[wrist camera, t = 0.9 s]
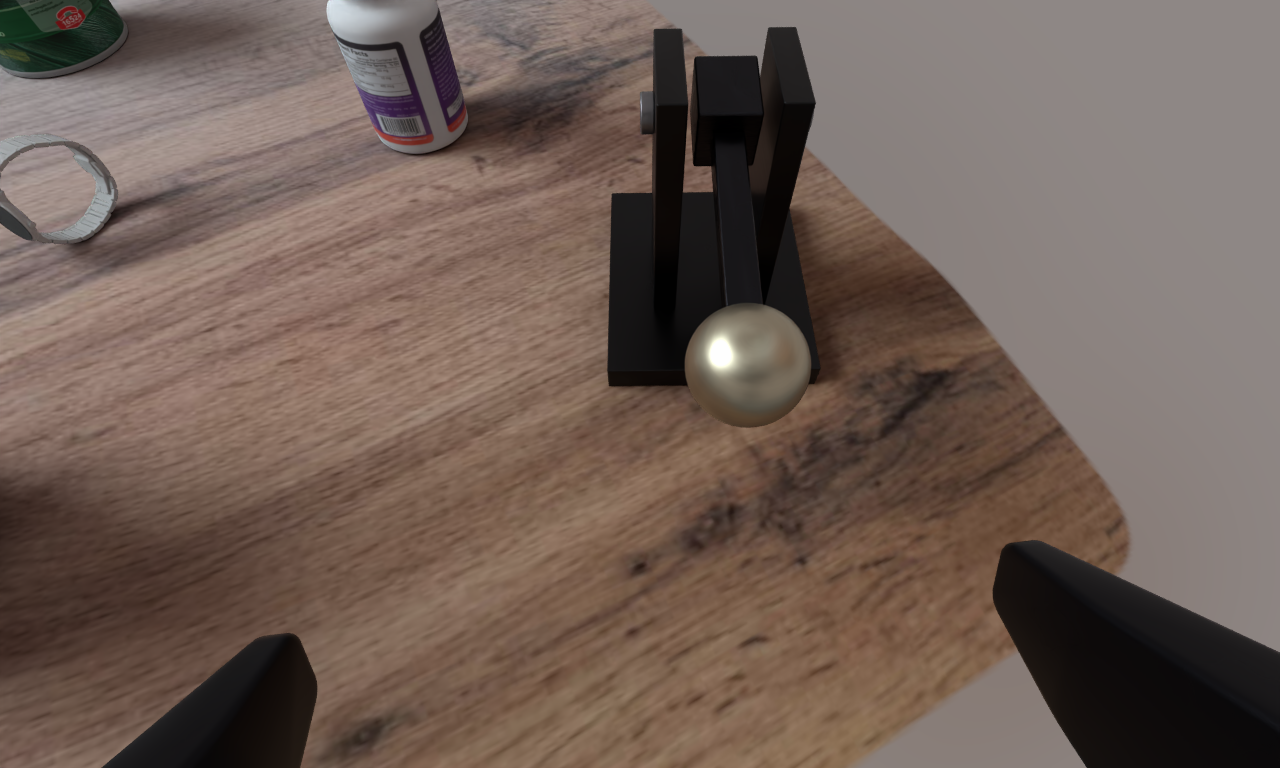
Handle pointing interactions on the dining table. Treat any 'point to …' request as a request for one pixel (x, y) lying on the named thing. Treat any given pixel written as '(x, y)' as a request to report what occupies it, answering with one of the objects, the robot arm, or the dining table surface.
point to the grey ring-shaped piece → (86, 226)
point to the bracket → (703, 220)
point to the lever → (738, 262)
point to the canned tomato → (57, 35)
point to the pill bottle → (402, 70)
